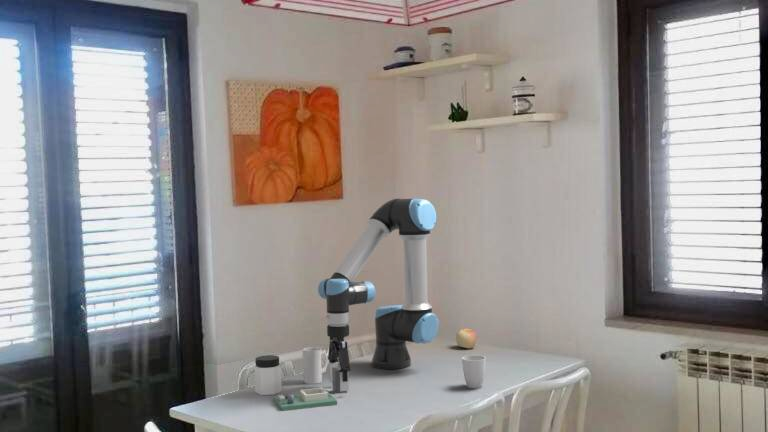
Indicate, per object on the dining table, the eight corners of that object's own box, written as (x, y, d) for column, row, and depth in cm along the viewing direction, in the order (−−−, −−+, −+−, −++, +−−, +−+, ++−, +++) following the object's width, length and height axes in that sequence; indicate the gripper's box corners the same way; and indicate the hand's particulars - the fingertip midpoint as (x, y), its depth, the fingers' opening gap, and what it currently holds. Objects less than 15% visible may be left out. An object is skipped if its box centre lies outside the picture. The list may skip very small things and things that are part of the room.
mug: (309, 385, 288) (308, 351, 288) (299, 381, 294) (298, 348, 293) (333, 380, 294) (332, 347, 294) (323, 377, 300) (322, 344, 299)
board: (326, 393, 277) (326, 383, 277) (337, 404, 263) (336, 393, 263) (273, 399, 271) (273, 388, 271) (282, 410, 258) (281, 399, 258)
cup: (487, 384, 285) (487, 355, 284) (484, 390, 277) (483, 360, 276) (464, 382, 287) (464, 354, 286) (460, 388, 279) (460, 360, 279)
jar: (265, 388, 286) (264, 354, 286) (285, 390, 283) (284, 355, 282) (251, 394, 278) (249, 359, 278) (271, 396, 275) (270, 361, 274)
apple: (466, 345, 350) (465, 326, 350) (481, 348, 344) (481, 329, 343) (451, 348, 345) (451, 329, 344) (466, 351, 338) (466, 332, 338)
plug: (345, 389, 282) (344, 366, 282) (348, 392, 278) (348, 369, 278) (332, 390, 281) (332, 367, 280) (335, 393, 277) (335, 370, 276)
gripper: (318, 319, 289) (319, 378, 290) (336, 331, 265) (338, 395, 266) (339, 318, 291) (340, 376, 292) (359, 329, 267) (360, 393, 268)
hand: (339, 386), depth 279 cm, fingers open, 13 cm apart
